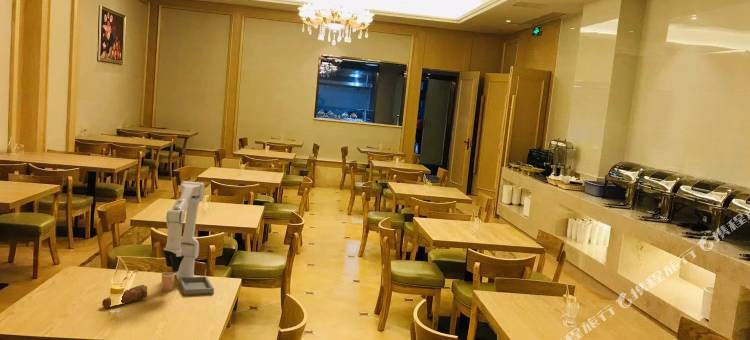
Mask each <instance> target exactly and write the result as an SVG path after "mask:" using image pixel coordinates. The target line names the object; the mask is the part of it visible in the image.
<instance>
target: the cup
mask: <svg viewBox="0 0 750 340" xmlns="http://www.w3.org/2000/svg"><path fill="white" fill-rule="evenodd" d="M175 273H176V272H173V271H172V272H171V271H166V272H165V271H164V272H162V273H161V283H160V291H162V292H173V291H174V287H175V286H174V285H175V284H174V283H175V277H176V275H175Z"/></svg>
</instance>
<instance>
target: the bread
mask: <svg viewBox="0 0 750 340" xmlns="http://www.w3.org/2000/svg"><path fill="white" fill-rule="evenodd" d="M128 289H129V290H128ZM128 289H125V290H124V291H125V292H124V294H123V296H122V300H121V302H122V303H125V304H129V303H132V302H136V301H140V300H143V299H145V298H147V296H148V291H147V290H148V286H146V285H144V284H140V285H136V286H134V287H132V288H131V287H130V288H128ZM110 297H111V296H109V297H107V298H104V299H103V300H102V302H101V303H102V307H103V308H104V309H110V308H109V307H110V305H111V299H110Z"/></svg>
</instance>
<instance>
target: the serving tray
mask: <svg viewBox="0 0 750 340" xmlns="http://www.w3.org/2000/svg"><path fill="white" fill-rule="evenodd" d="M178 285H179V286H180V289H181V290H182V293H183V295H184V296H204V294H206V295H214V294H215V288H214V286H213V285H212V283H211V281H210V280H209V277H208V276H207V275H205V276H195V277H179V280H178Z"/></svg>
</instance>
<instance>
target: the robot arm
mask: <svg viewBox="0 0 750 340" xmlns="http://www.w3.org/2000/svg"><path fill="white" fill-rule="evenodd" d="M205 187H206V186H205V183H204V182H199V181H198V182H197V181H185V180H182V181H181V183H180V189H179V191H180V194H181V195H180V197H179V198H178V199H177V200H175V202H174V204H173V206H172V207H171V209H169V210H167V213H166V217H165V219H166V220H165V221H166V227H167V233H166V234H167V236H166V244H165V247H163V250H162V253H163V255H164V258H165V263H166V267H167V268H171V269H172V273H175V277H176V279H177V280H178V281H179V277H196V276H195V262H196V261H195V260H196V259H197V258H198V257H199V253H200V243H199V240H197V238H196V237H195V232H196V226H197V216H198V210H199V204H200V202H203V200H204V196H205V191H206V188H205ZM183 224H184V228H183ZM182 230H183V232H182ZM182 233H183V236H182Z"/></svg>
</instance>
